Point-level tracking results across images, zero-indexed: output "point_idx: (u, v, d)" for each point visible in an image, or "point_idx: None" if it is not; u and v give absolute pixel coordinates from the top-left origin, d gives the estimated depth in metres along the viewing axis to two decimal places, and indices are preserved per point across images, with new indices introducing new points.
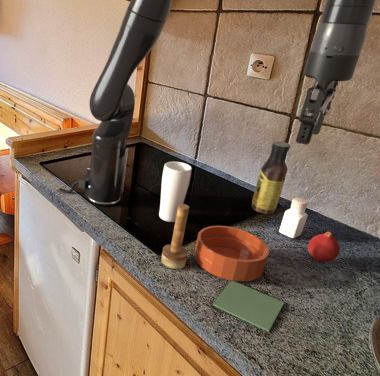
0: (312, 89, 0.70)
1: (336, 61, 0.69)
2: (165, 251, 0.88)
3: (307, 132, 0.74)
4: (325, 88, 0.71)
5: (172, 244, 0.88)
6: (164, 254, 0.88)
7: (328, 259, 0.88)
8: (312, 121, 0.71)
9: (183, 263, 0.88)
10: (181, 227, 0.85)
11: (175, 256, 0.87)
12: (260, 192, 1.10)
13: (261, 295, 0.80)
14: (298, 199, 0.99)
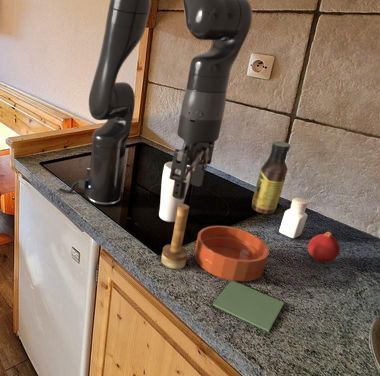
0: (177, 151, 0.74)
1: (198, 125, 0.73)
2: (165, 251, 0.88)
3: (179, 189, 0.78)
4: (191, 149, 0.75)
5: (172, 244, 0.88)
6: (164, 254, 0.88)
7: (328, 259, 0.88)
8: (180, 180, 0.75)
9: (183, 263, 0.88)
10: (181, 227, 0.85)
11: (175, 256, 0.87)
12: (260, 192, 1.10)
13: (261, 295, 0.80)
14: (298, 199, 0.99)
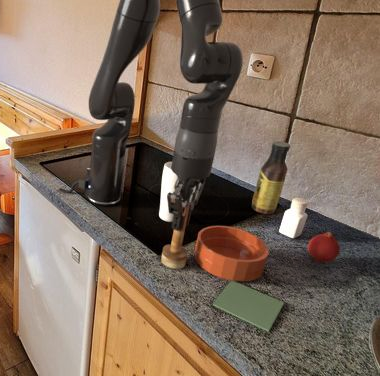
0: (170, 196, 0.78)
1: (190, 163, 0.76)
2: (165, 251, 0.88)
3: (178, 222, 0.83)
4: (184, 185, 0.78)
5: (172, 244, 0.88)
6: (164, 254, 0.88)
7: (328, 259, 0.88)
8: (178, 216, 0.81)
9: (183, 263, 0.88)
10: None
11: (175, 256, 0.87)
12: (261, 192, 1.10)
13: (261, 295, 0.80)
14: (298, 199, 0.99)
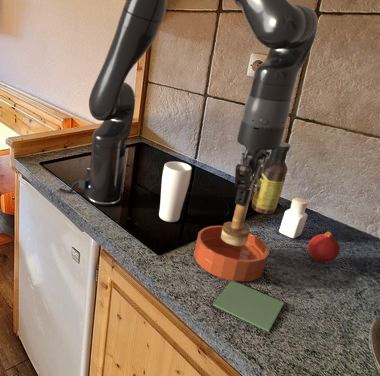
0: (239, 167, 0.76)
1: (262, 132, 0.74)
2: (226, 228, 0.86)
3: (243, 196, 0.81)
4: (254, 156, 0.76)
5: (234, 220, 0.85)
6: (225, 231, 0.86)
7: (328, 259, 0.88)
8: (246, 189, 0.78)
9: (245, 240, 0.85)
10: None
11: (237, 232, 0.84)
12: (260, 192, 1.10)
13: (261, 295, 0.80)
14: (298, 199, 0.99)
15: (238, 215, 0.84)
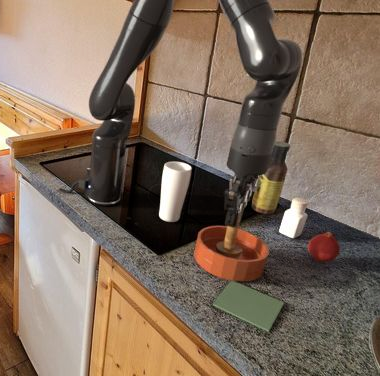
0: (228, 192, 0.79)
1: (250, 159, 0.77)
2: (219, 248, 0.89)
3: (233, 218, 0.84)
4: (242, 181, 0.79)
5: (226, 241, 0.88)
6: (218, 251, 0.89)
7: (328, 259, 0.88)
8: (234, 212, 0.82)
9: (238, 259, 0.88)
10: None
11: (229, 252, 0.87)
12: (260, 192, 1.10)
13: (261, 295, 0.80)
14: (298, 199, 0.99)
15: (229, 236, 0.87)
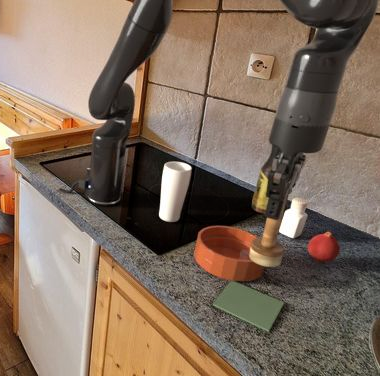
0: (273, 174, 0.62)
1: (302, 132, 0.60)
2: (256, 245, 0.72)
3: (275, 208, 0.67)
4: (291, 161, 0.62)
5: (265, 236, 0.71)
6: (255, 249, 0.72)
7: (328, 259, 0.88)
8: (279, 200, 0.65)
9: (280, 259, 0.71)
10: None
11: (269, 250, 0.71)
12: (261, 192, 1.10)
13: (261, 295, 0.80)
14: (298, 199, 0.99)
15: (270, 230, 0.70)
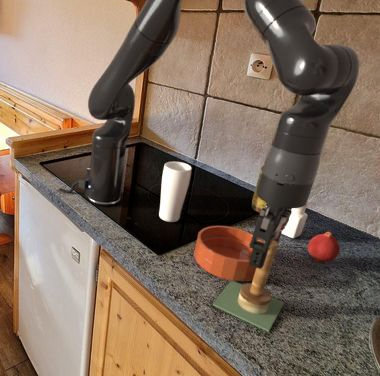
0: (262, 218, 0.65)
1: (287, 189, 0.64)
2: (244, 293, 0.76)
3: (259, 258, 0.68)
4: (277, 215, 0.66)
5: (253, 285, 0.75)
6: (243, 296, 0.76)
7: (328, 259, 0.88)
8: (263, 251, 0.66)
9: (266, 307, 0.75)
10: (267, 266, 0.72)
11: (257, 299, 0.74)
12: None
13: None
14: None
15: (258, 280, 0.74)
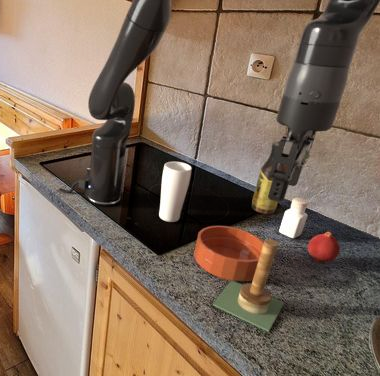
0: (284, 141, 0.59)
1: (312, 109, 0.58)
2: (244, 293, 0.76)
3: (280, 189, 0.63)
4: (300, 139, 0.60)
5: (253, 285, 0.75)
6: (243, 296, 0.76)
7: (328, 259, 0.88)
8: (285, 178, 0.60)
9: (266, 307, 0.75)
10: (267, 266, 0.72)
11: (257, 299, 0.74)
12: (260, 192, 1.10)
13: None
14: (298, 199, 0.99)
15: (258, 280, 0.74)
